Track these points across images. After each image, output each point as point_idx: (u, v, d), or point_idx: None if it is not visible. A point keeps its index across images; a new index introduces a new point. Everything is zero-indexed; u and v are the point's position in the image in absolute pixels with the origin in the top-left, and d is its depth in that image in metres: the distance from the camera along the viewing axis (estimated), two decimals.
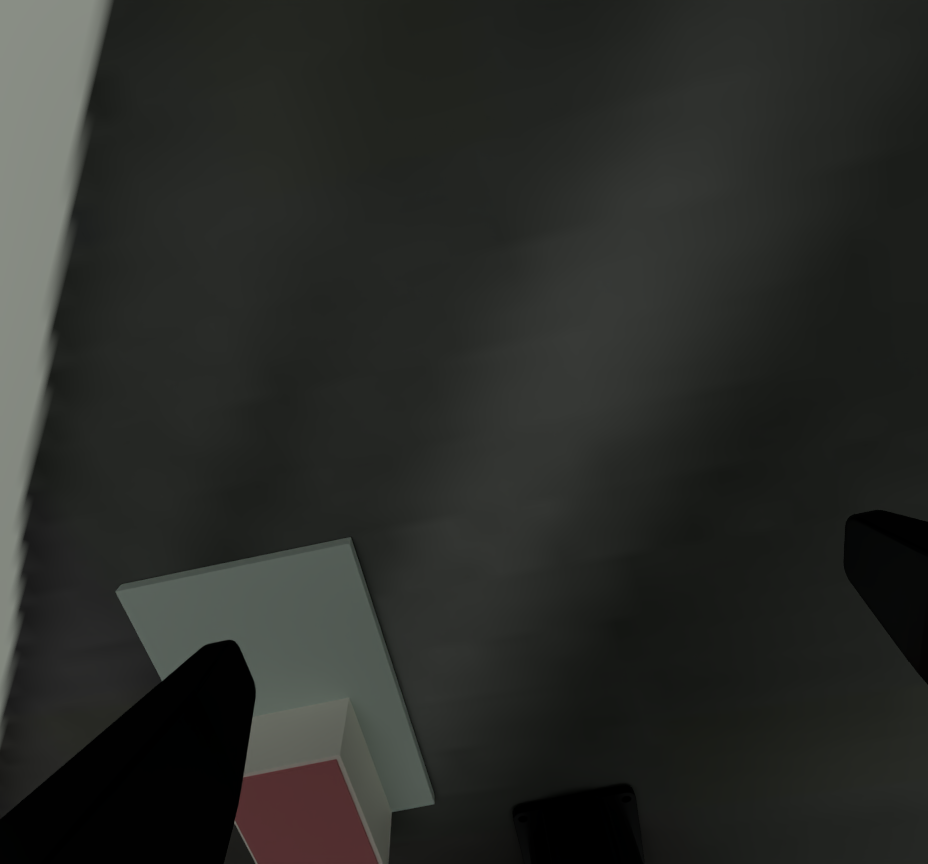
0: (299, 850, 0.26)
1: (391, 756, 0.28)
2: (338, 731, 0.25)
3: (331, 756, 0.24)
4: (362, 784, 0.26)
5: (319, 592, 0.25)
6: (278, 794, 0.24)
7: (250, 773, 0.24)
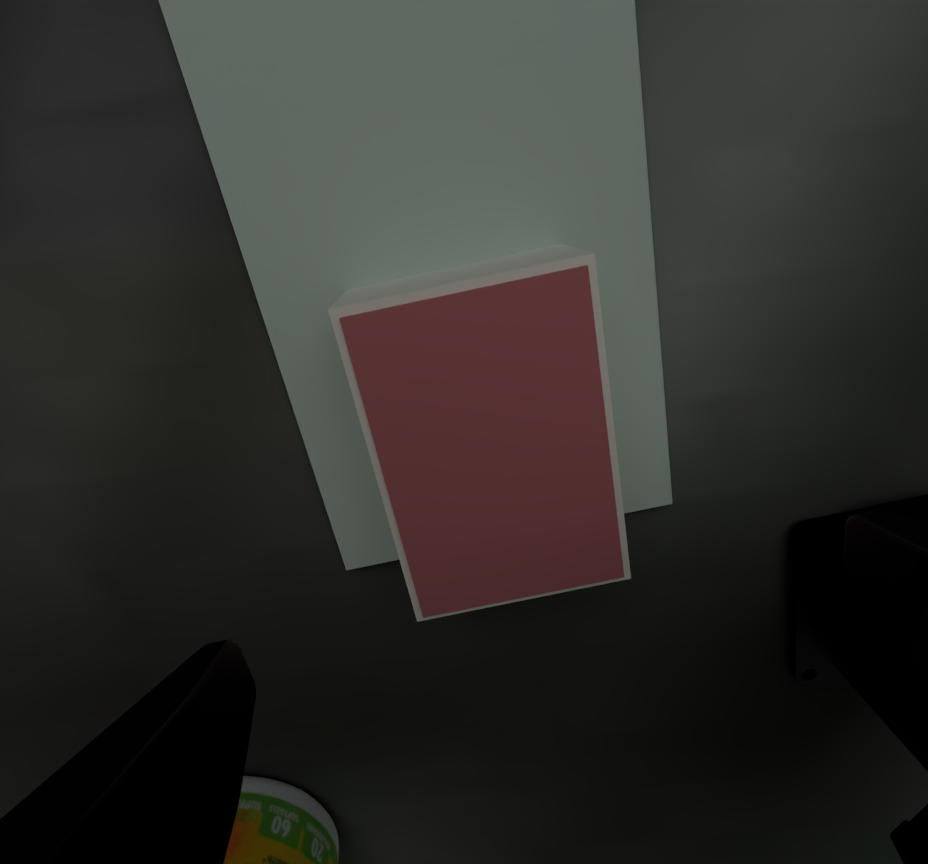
0: (482, 504, 0.13)
1: (616, 393, 0.16)
2: (569, 251, 0.13)
3: (577, 256, 0.12)
4: None
5: None
6: (460, 350, 0.12)
7: (407, 295, 0.12)
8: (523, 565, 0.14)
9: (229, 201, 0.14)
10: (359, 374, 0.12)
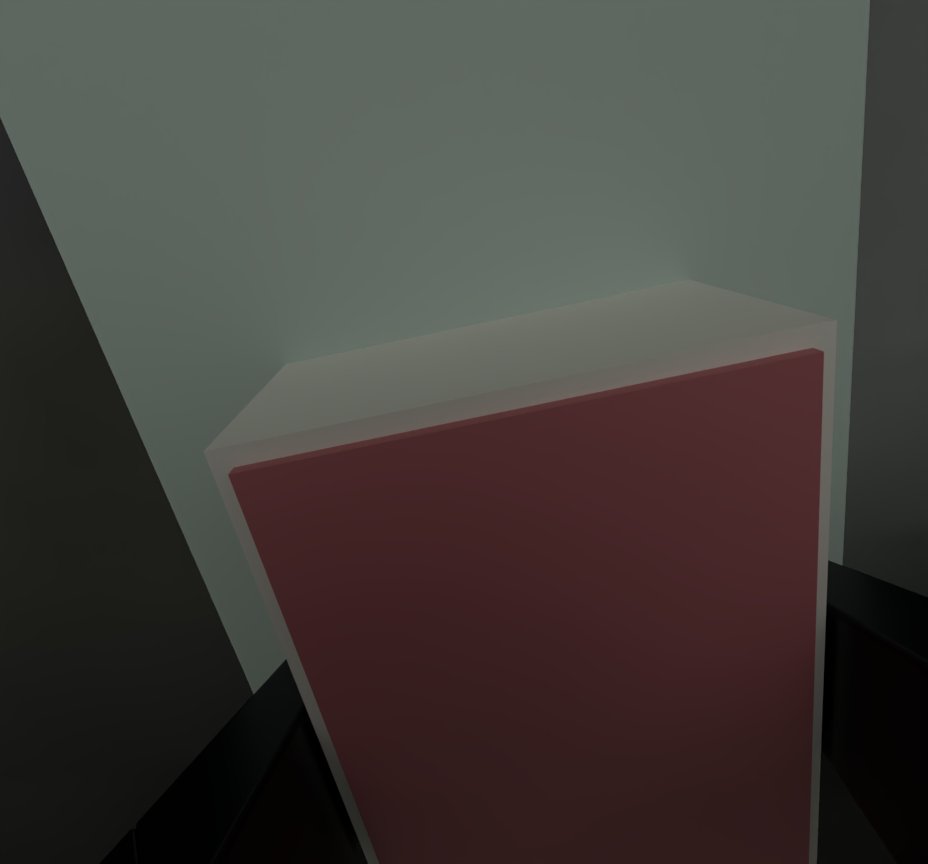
0: (545, 811, 0.07)
1: None
2: (739, 304, 0.06)
3: (794, 327, 0.05)
4: None
5: None
6: (510, 536, 0.05)
7: (390, 419, 0.05)
8: None
9: (45, 199, 0.07)
10: (283, 586, 0.05)
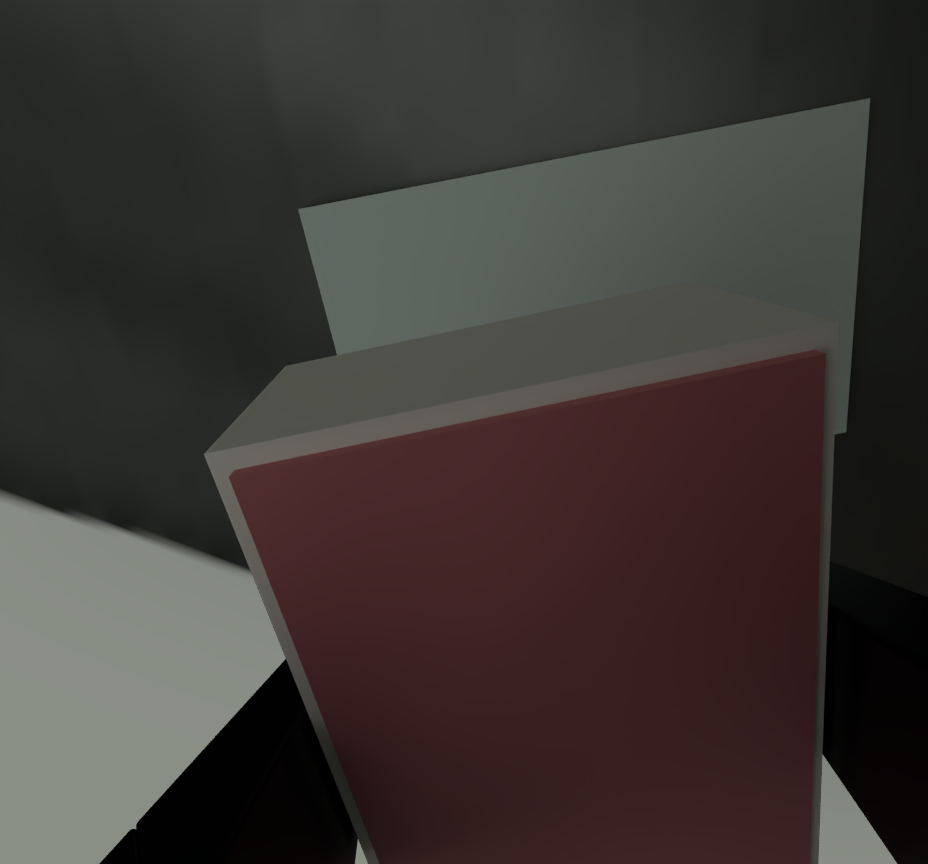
0: (546, 813, 0.07)
1: (731, 176, 0.16)
2: (739, 305, 0.06)
3: (797, 329, 0.05)
4: None
5: (385, 264, 0.17)
6: (513, 539, 0.05)
7: (391, 421, 0.05)
8: None
9: None
10: (284, 588, 0.05)
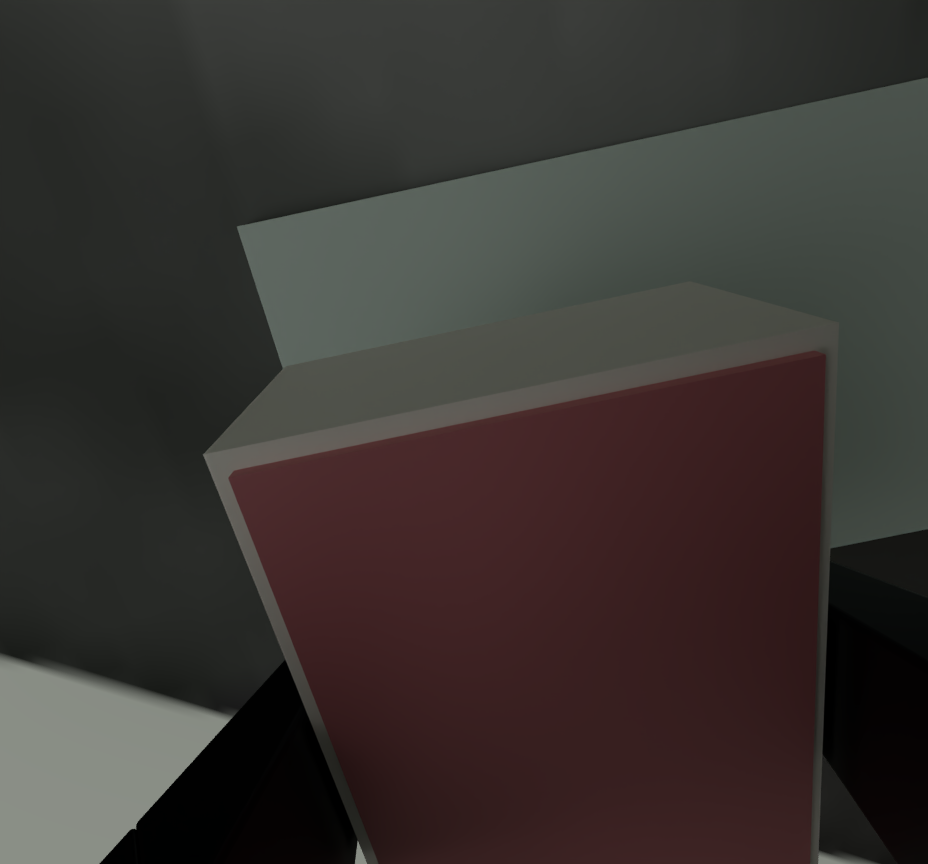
0: (546, 814, 0.07)
1: (872, 165, 0.11)
2: (740, 306, 0.06)
3: (796, 331, 0.05)
4: None
5: (367, 302, 0.12)
6: (512, 540, 0.05)
7: (391, 421, 0.05)
8: None
9: None
10: (283, 589, 0.05)
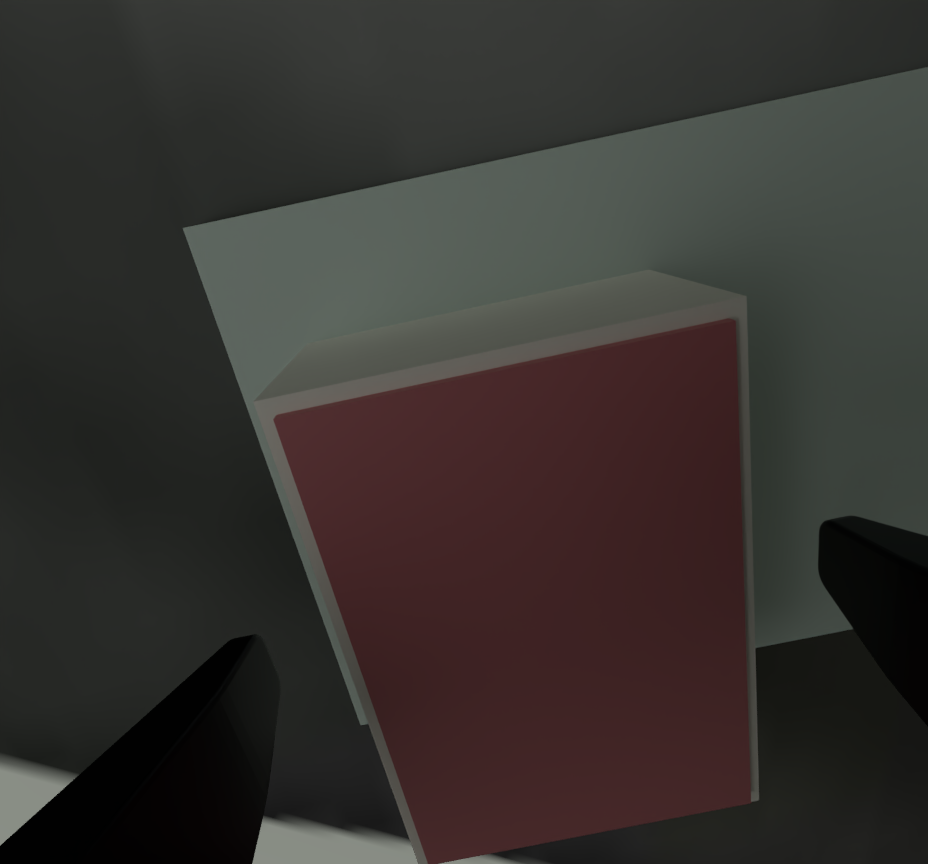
0: (527, 708, 0.08)
1: None
2: (680, 287, 0.07)
3: (713, 302, 0.06)
4: None
5: (352, 325, 0.09)
6: (496, 471, 0.07)
7: (400, 375, 0.06)
8: (591, 791, 0.09)
9: None
10: (314, 511, 0.07)
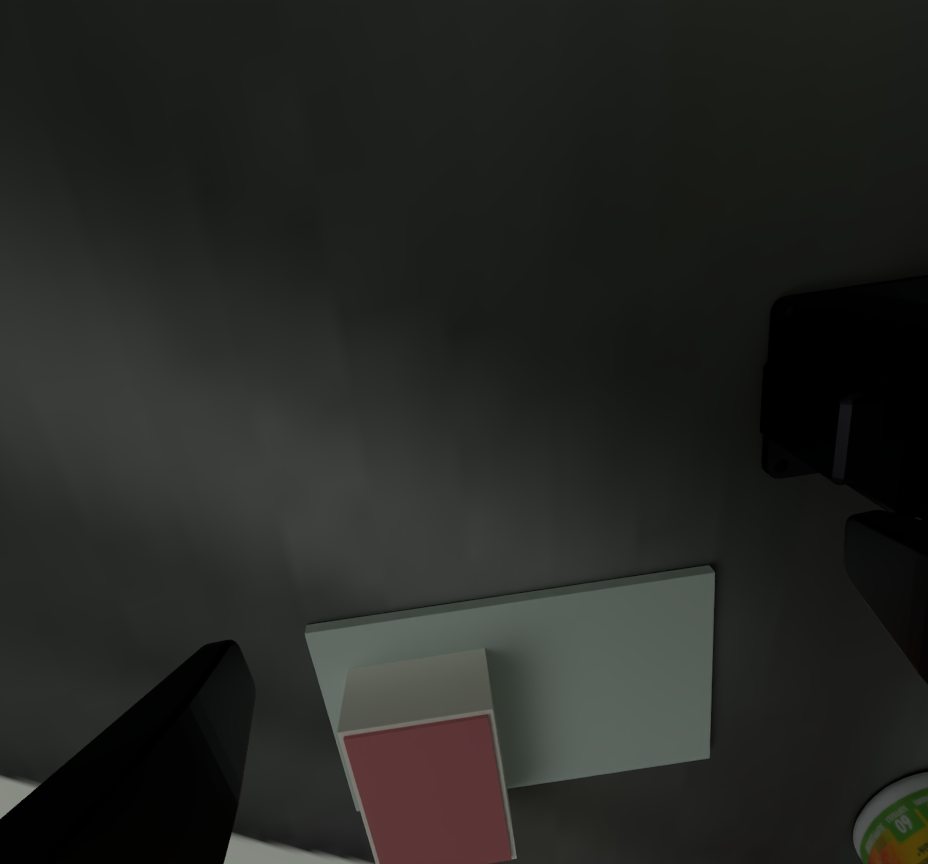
0: (423, 824, 0.22)
1: (618, 614, 0.23)
2: (482, 684, 0.21)
3: (482, 710, 0.20)
4: None
5: (366, 663, 0.23)
6: (413, 753, 0.21)
7: (383, 727, 0.20)
8: (448, 853, 0.23)
9: None
10: (353, 763, 0.21)
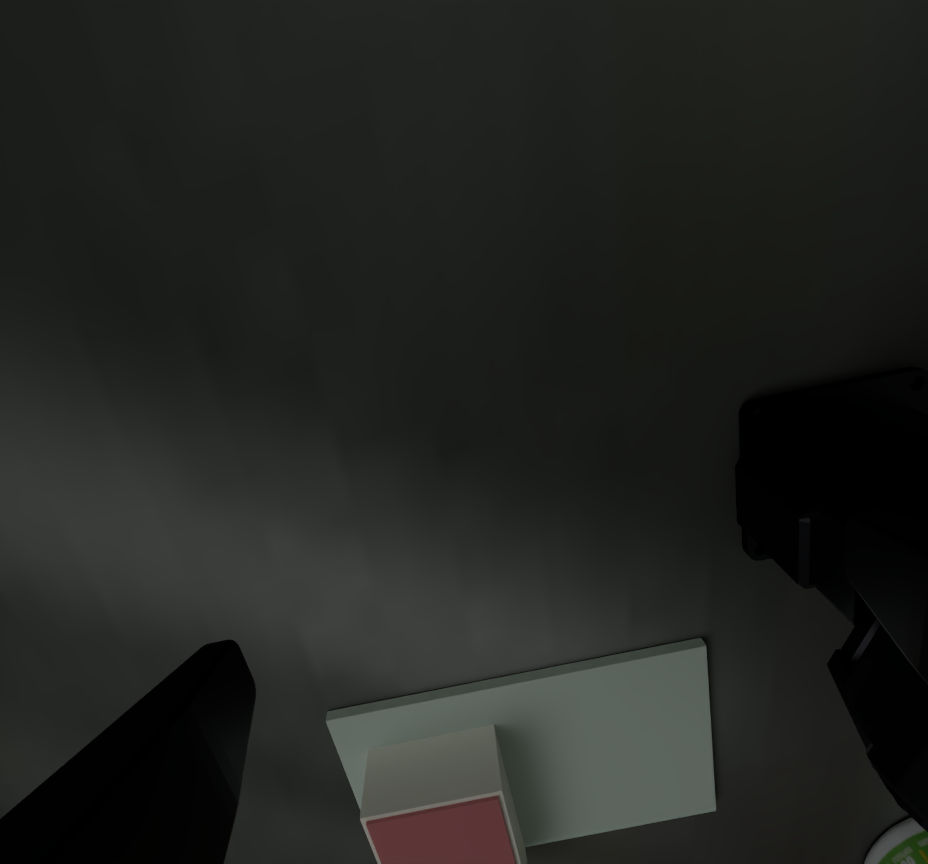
0: None
1: (617, 688, 0.24)
2: (492, 763, 0.23)
3: (492, 792, 0.22)
4: (512, 820, 0.24)
5: (384, 744, 0.25)
6: (431, 833, 0.22)
7: (402, 811, 0.22)
8: None
9: None
10: (376, 844, 0.22)
